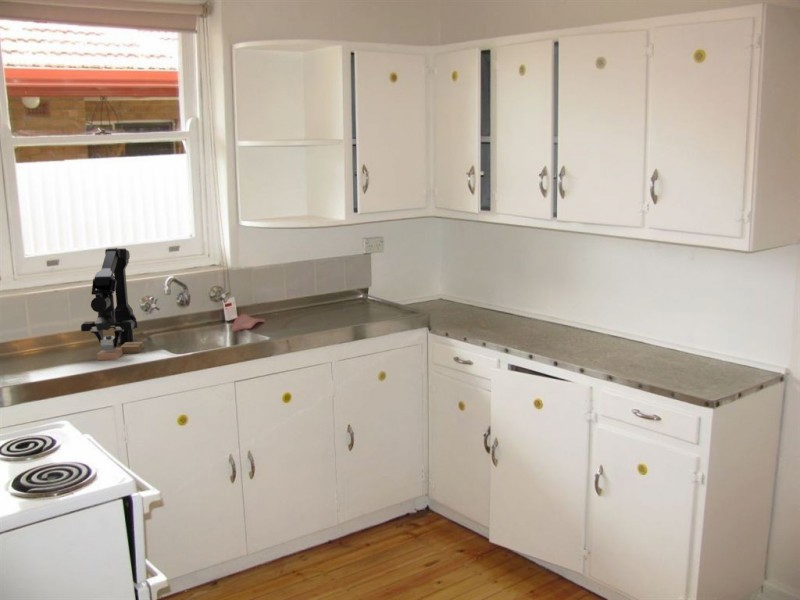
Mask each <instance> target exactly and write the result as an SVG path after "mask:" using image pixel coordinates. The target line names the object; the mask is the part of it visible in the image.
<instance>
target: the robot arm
mask: <svg viewBox="0 0 800 600" xmlns="http://www.w3.org/2000/svg"><path fill="white" fill-rule="evenodd" d="M104 251H105V252H104V254H105V255H104V259H103V263H102V265H101V268H100V270H99V271H97V272H96V273H95V275H94V278H93V279H92V287H91V295H92V296H93V295H94V296H95V297H94V298H92V300H91V302H90V307H91V309H92V311H94V312H95V313H97V318H96V319H95V321H85V322H83V323H82V324H81V325H80V331H81V332H90V333H91V334H94V335H95V336H96V338H97V340H98V342H99V344H100V345H101V342H100V340H101V339H103V338H104V333H103V331H109V330H110V329H112V328H113V330H114V331H113V332H114V336H115V348H118V346H117V345H123V344H124V343H125V342H137V339H135V338H134V330H135V329H137V328H138V321H137V318H136V316H135V314H134V311H133V308H132V306H130V304H129V299H128V297H129V296H128V287H127V274H126V268H127V266H128V265H129V263H130V262H129V261H130V251H129V250H127V249H126V247H125V248H119V247H107V248H105V250H104ZM114 293H115V300H116V306H115V302H114V301H115V300H114Z"/></svg>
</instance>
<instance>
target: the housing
mask: <svg viewBox="0 0 800 600" xmlns="http://www.w3.org/2000/svg"><path fill="white" fill-rule="evenodd" d="M100 342H101V344H100V351H104V350H114V349H115V335H106V336H103V339H101V340H100ZM100 342H99V343H100ZM118 345H119V344H118ZM118 345H117V347H118Z"/></svg>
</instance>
